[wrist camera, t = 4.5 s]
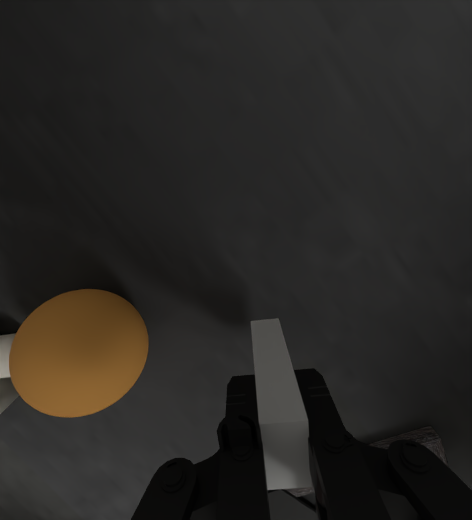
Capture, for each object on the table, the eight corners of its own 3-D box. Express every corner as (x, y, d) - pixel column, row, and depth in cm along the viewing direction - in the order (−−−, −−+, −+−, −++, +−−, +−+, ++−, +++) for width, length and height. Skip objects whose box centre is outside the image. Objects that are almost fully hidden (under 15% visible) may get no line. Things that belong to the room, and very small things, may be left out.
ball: (-10, 298, 14) (111, 283, 18) (1, 421, 14) (119, 375, 18) (23, 299, 10) (165, 280, 14) (38, 471, 10) (176, 397, 14)
